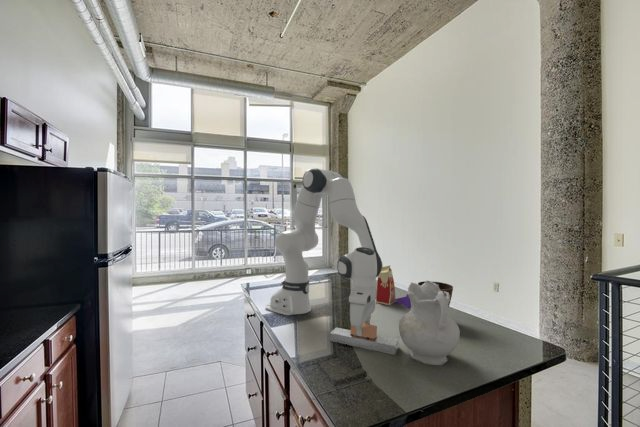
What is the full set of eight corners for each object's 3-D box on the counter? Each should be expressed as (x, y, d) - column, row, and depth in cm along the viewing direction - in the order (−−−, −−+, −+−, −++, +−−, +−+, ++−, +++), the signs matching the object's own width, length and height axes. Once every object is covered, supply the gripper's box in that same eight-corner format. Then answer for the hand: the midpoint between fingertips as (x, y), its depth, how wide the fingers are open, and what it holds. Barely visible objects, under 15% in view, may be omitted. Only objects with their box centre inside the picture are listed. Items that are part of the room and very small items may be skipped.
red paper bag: (395, 301, 163) (396, 264, 163) (390, 305, 155) (390, 267, 155) (379, 298, 168) (380, 262, 167) (373, 302, 160) (374, 265, 160)
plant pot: (415, 313, 144) (416, 280, 144) (448, 316, 141) (449, 282, 141) (419, 324, 129) (419, 287, 129) (456, 328, 126) (456, 290, 126)
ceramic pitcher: (477, 375, 92) (484, 294, 93) (423, 379, 87) (430, 293, 87) (432, 344, 113) (437, 278, 113) (386, 346, 107) (392, 277, 108)
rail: (329, 341, 112) (330, 333, 112) (335, 335, 117) (335, 327, 117) (395, 354, 102) (395, 346, 102) (398, 347, 107) (398, 339, 107)
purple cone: (420, 307, 154) (420, 294, 154) (408, 308, 152) (408, 295, 152) (406, 300, 165) (406, 288, 165) (395, 301, 163) (396, 289, 163)
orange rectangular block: (350, 343, 110) (350, 324, 110) (353, 340, 113) (353, 321, 113) (374, 348, 106) (374, 328, 106) (376, 344, 109) (376, 325, 109)
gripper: (363, 285, 120) (363, 319, 120) (347, 298, 102) (346, 339, 102) (379, 287, 118) (378, 322, 118) (365, 301, 99) (364, 343, 99)
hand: (363, 330), depth 110 cm, fingers open, 8 cm apart
